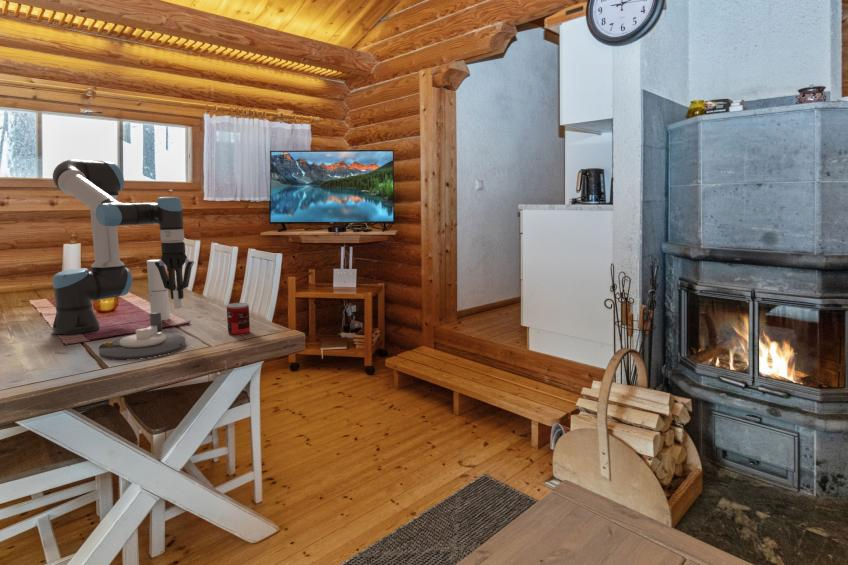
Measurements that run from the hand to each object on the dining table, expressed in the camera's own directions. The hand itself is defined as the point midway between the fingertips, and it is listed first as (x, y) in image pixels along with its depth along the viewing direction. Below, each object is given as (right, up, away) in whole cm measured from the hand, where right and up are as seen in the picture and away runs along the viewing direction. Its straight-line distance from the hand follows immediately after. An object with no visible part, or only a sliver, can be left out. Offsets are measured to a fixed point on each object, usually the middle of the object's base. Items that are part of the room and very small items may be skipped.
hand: (178, 307), depth 189 cm
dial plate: (-8, -13, -8) cm, 18 cm away
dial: (-8, -11, -6) cm, 15 cm away
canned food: (+17, -10, +13) cm, 24 cm away
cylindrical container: (-23, -7, +35) cm, 43 cm away
